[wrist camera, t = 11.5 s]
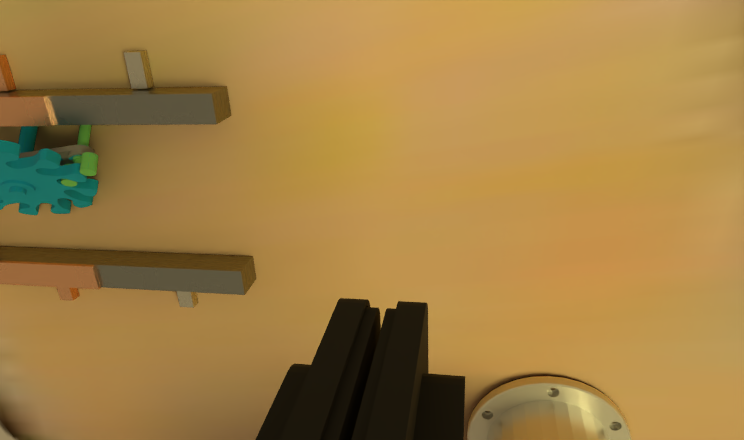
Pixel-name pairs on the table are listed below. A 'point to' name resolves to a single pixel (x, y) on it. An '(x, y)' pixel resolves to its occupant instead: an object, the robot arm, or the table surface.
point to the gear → (47, 173)
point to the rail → (119, 266)
